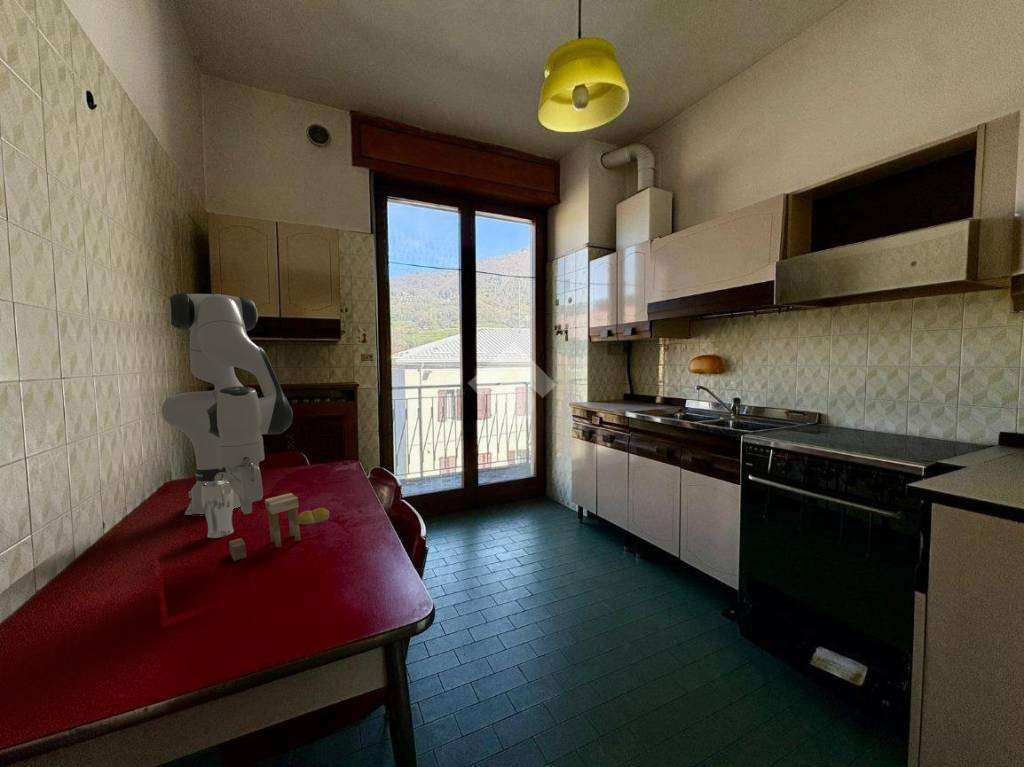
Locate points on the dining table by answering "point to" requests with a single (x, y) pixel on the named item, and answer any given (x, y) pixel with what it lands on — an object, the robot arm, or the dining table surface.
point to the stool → (281, 505)
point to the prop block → (237, 549)
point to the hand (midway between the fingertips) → (246, 512)
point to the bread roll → (313, 516)
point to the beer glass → (218, 507)
